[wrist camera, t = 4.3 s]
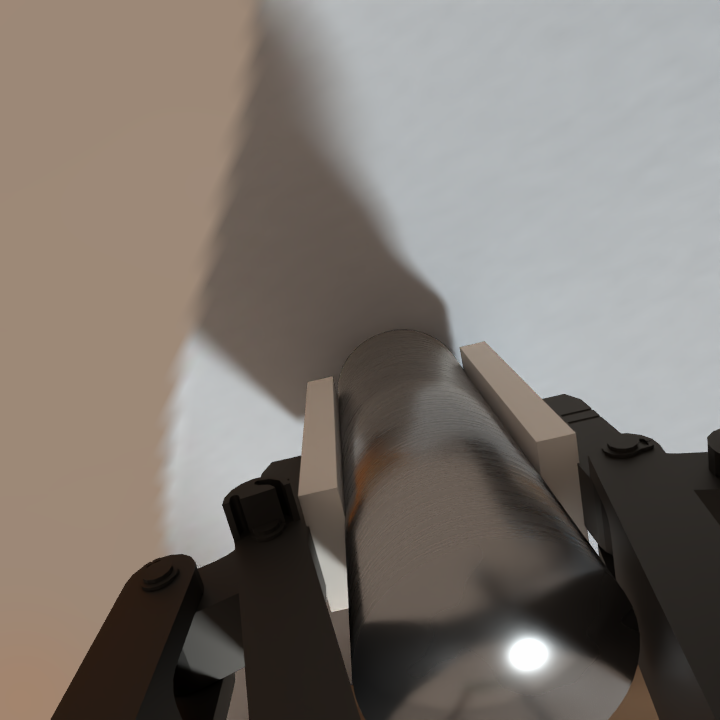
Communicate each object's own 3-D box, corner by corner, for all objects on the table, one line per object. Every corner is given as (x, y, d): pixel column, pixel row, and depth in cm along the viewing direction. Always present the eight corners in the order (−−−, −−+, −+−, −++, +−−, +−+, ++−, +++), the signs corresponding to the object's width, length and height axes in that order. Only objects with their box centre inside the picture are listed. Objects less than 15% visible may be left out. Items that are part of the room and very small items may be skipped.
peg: (324, 346, 18) (320, 578, 7) (451, 316, 18) (627, 509, 7) (352, 460, 19) (384, 799, 9) (472, 433, 19) (649, 741, 9)
